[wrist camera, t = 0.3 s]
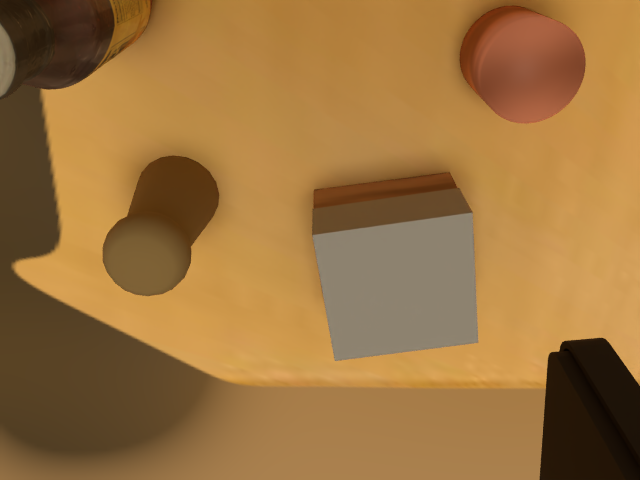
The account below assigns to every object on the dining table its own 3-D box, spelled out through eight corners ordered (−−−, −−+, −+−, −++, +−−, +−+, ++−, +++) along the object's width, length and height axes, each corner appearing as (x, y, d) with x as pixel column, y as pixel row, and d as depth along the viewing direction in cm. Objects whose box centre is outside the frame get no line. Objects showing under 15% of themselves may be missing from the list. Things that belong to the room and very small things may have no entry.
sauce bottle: (67, 45, 41) (-125, 139, 23) (50, -60, 38) (-185, -46, 20) (166, 47, 41) (51, 142, 23) (157, -58, 38) (17, -41, 20)
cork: (227, 169, 45) (202, 238, 35) (209, 240, 47) (181, 322, 37) (144, 145, 44) (95, 209, 34) (130, 218, 46) (81, 297, 37)
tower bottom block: (313, 188, 46) (313, 210, 42) (448, 170, 45) (459, 191, 42) (331, 300, 50) (332, 329, 47) (453, 285, 50) (464, 313, 46)
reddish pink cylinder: (458, 12, 40) (480, 26, 34) (552, -1, 39) (588, 11, 34) (461, 103, 43) (481, 129, 37) (548, 92, 42) (582, 116, 37)
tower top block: (312, 208, 42) (312, 235, 39) (458, 187, 41) (472, 212, 38) (333, 327, 47) (334, 360, 43) (465, 310, 46) (478, 342, 42)
